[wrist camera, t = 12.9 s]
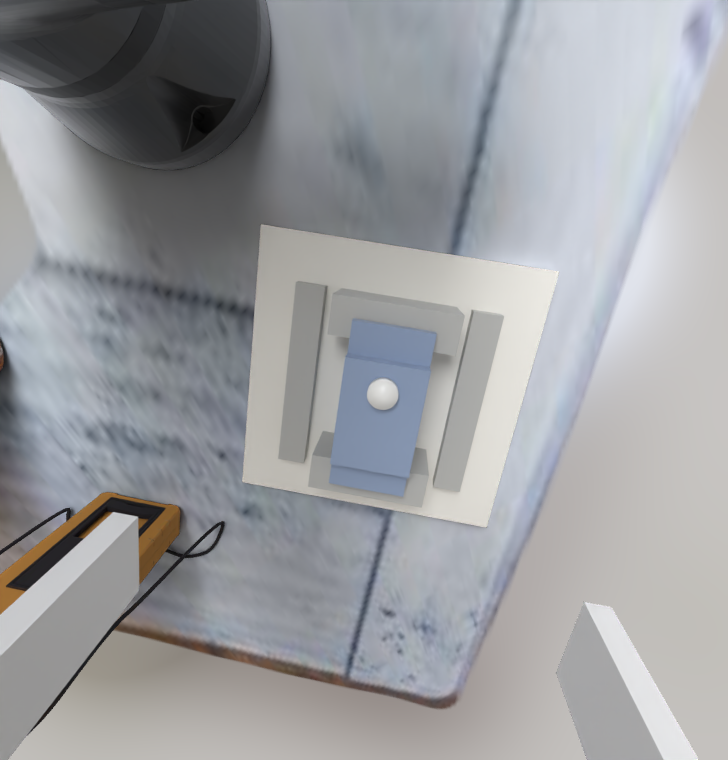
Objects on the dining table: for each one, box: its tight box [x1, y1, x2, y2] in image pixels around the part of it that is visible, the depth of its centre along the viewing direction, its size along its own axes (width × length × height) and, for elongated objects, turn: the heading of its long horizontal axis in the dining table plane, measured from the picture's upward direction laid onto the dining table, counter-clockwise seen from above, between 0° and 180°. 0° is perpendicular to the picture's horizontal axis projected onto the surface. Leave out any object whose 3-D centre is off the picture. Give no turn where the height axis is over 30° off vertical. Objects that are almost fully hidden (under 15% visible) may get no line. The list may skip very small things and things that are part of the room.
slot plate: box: [242, 224, 559, 528], centre depth 30 cm, size 20×20×5 cm
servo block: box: [329, 318, 437, 497], centre depth 28 cm, size 5×11×7 cm, turn 171°
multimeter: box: [0, 492, 224, 734], centre depth 29 cm, size 15×10×20 cm
